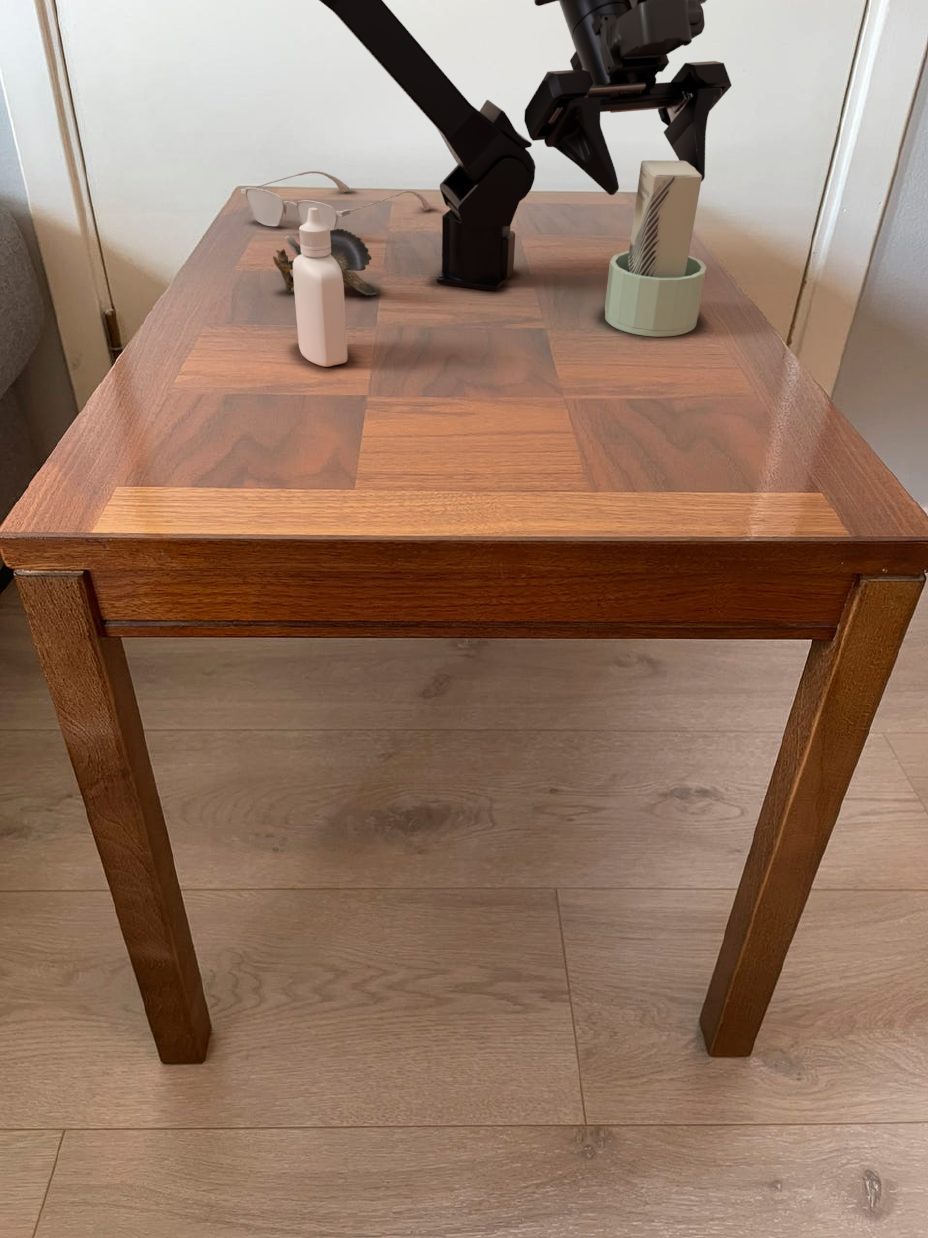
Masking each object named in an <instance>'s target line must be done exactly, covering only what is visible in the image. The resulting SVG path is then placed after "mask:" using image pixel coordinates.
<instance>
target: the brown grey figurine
mask: <svg viewBox="0 0 928 1238" xmlns="http://www.w3.org/2000/svg"><path fill="white" fill-rule="evenodd" d="M330 239H331V253H330V254H331V255H332V257H333V258H334V259H335V260H336V261H337V263H338V264H339V266H340V268H341V271H342V275H343V284H347V285H348V286H350V287H352V288H353V289H355V290H357V291H358V292H360V293H361V294H363V295H365V296H374V295H376V296H377V293H378V291H377V290H376V288H375V287H373V286H372V285H370V284H368V283H367V282H366V281H365V280H363V278H361V277H360V276H359V275H358V274H357V273H356V272H362V271H365V270H366V269H367V267H366V266H369V265H370V261H371V260H372V255H371V254H370V253H369V251H370V250H369V248H368V247H367V246H366V243H364V242H363V241H362V239H361V237H358V236H357V235H356V234H354V233H352V232H351V231H348V230H345V229H343V228H335V230H330ZM284 240H285V242H286V243H287V244H288V247H289V249H290V250H292V252H293V253H294V254H295V255H296V257H297V256H299V255H301V254H302V253H301V247H300V243H298V242H297V241H296V240H295V239H294V238H293V237H292V236H291V235H286V236H285V238H284ZM275 252H276V253H277V256H276V255H273V256H272V260H273V262H274V265H275V266H276V267H277V269H278V270H279V272H280V273H281V276H282V279H283V280H284V284H285V292H286V293H290V292H292V290H293V289H294V280H293V274H291V271H293V262H294V260H289V256H288V255H287V251H286V249H284V248H282V249H281V250H278V249H276V250H275Z"/></svg>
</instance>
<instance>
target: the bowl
mask: <svg viewBox="0 0 928 1238" xmlns="http://www.w3.org/2000/svg"><path fill="white" fill-rule="evenodd" d="M628 257H629V250H626V251H622V252H620V253H618V254H615V255H613V256H612V257H611V259H610V260H609V266H608V275H607V284H606V285H607V286H606V295H605V301H604V302H605V303H604V319H605V321H606V323H608V324H609V325H610V326H612V327H613V328H615V329H617V330H619V331H622V332H625V333H628V334H633V335H636V336H637V335H638V336H643V337H659V338H660V337H661V338H662V337H674V336H680V335H684V334H687V333H689V332H691V331H693V330H694V329H695V328H696V326H697V324H698V318H699V315H700V309H701V304H702V299H703V298H702V297H703V292H704V285H705V281H706V274H707V268H708V266H706V264H705V263H704V262H703V261H702V260H701V259H698V258H696V257H695V256H692V255H688V261H687V266H686V272H685V277H679V278H658V277H649V276H642V275H638V274H635V273H631V272H628V271H627V264H628Z"/></svg>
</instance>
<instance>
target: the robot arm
mask: <svg viewBox="0 0 928 1238" xmlns="http://www.w3.org/2000/svg"><path fill="white" fill-rule="evenodd" d="M318 1H319V2H320V3H321V4H323V5H325V6H326V7H327V8H328V9H329V10H330V11H332V13H333V14H334V15H335V16H336V17H337V18H338V19H339V20H340V21H341V23H342V24H343V25H344V26H345V27H346V28H347V29H348V30H349V31H350V32H351V33H352V35H353V36H354V37H355V38H356V39H357V40H358V42H359V43H360V44H361V45H362V46H363V47H364V48H365V49H366V51H367V52H368V53H369V54H370V55H371V56H372V57H373V58H374V60H375V61H377V63H378V64H379V65H380V67H382V68H383V70H384V71H385V72H386V73H387V74H388V76H390V77H391V79H392V80H393V81H394V82H395V83H396V84H397V86H398V87H399V88H400V89H401V90H402V91H403V92H404V93H405V94H406V96H407V97H408V98H410V100H411V102H413V103H414V104H415V105H416V107H417V108H418V109H419V110H420V111H421V112H422V113H423V114H424V116H425V117H426V118H427V119H428V120H429V121H430V122H431V123H432V124H433V126H434V127H435V128H436V129H437V131H438V133H439V135H440V136H441V138H442V140H443V142H444V143H445V146H446V147H447V150H448V151H449V152H450V154H451V156H452V158H453V159H454V161H455V162H456V164H457V165H455V167H454V168H453V169H452V170H451V171H450V172H449V173H448V174H447V176H446V177H445V178H444V179H443V180H442V181H441V182H440V184H439V190H440V193H441V196H442V199H443V202H444V204H445V206H446V207H448V208H449V210H448V211H446V212H445V213H444V214H442V216H441V219H442V220H441V225H442V226H441V227H442V228H441V272H440V273H439V274H438V275H437V276H436V277H435V282H436V283H437V284H441V285H442V284H443V285H450V286H458V287H466V288H473V289H481V290H487V291H488V290H489V291H497V290H499V289H500V287H501V286H502V285H503V284H504V283H505V282H506V281H507V280H508V279H509V277H510V276H511V275H513V273H514V270H515V269H514V268H515V248H516V232H515V231H514V230H511V225H512V222H513V219H514V217H515V214H516V212H517V210H518V208H519V205H520V202H521V201H523V200H524V199H525V198H526V197H527V196H528V194H529V193H530V192H531V190H532V188H533V184H534V182H535V176H536V169H537V167H536V162H535V160H534V158H533V156H532V155H531V153H530V152H529V151H528V150H527V149H528V148H531V147H532V146H533V143H532V142H531V141H529V140H528V139H527V138H526V137H524V136H523V135H522V134H521V133H519V132H518V131H517V130H516V129H515V127H514V125H513V123H512V121H511V120H510V118H509V116H508V115H507V113H506V112H505V111H504V110H503V109H502V108H500V107H499V106H497V105H496V104H495V103H493V102H492V101H491V100H489V99H486V100H485V102H484V103H483V104H482V106H481V108H480V110H479V109H477V108H476V107H475V106H473V105H472V104H471V102H470V101H468V99H467V98H466V97H465V96H464V95H463V93H462V92H461V91H460V90H459V89H458V87H457V86H456V85H455V84H454V83H453V82H452V81H451V80H450V78H449V77H448V76H447V74H446V73H445V72H444V71H443V70H442V69H441V68H440V67H439V65H438V64H437V63H436V62H435V60H433V58H432V57H431V56H430V55H429V54H428V53H427V51H426V50H425V49H424V48H423V46H422V45H421V44H420V43H419V42H418V41H417V39H416V38H415V37H414V36H413V35H412V33H411V32H410V31H409V30H408V28H407V27H405V25H404V24H403V23H402V22H401V21H400V20H399V18H398V17H397V16H396V15H395V13H394V12H393V11H392V10H391V8H389V7H388V6H387V4H386V3H385V2H384V0H318ZM707 1H708V0H533V2H534V5H535V6H537V7H541V6H545V5H548V4H551V3H555V2H558V3H559V5H560V8H561V11H562V15H563V17H564V20H565V23H566V25H567V28H568V32H569V34H570V37H571V40H572V43H573V47H574V49H575V51H574V53H573V55H572V56H571V58H570V60H569V62H570V65H571V69H567V70H551V71H547V72H546V74H545V75H544V76H543V79H542V80H541V82H540V84H539V85H538V86H537V89H536V90H535V92H534V93H533V95H532V97H531V98H530V100H529V102H528V104H527V106H526V107H525V109H524V116H523V117H524V120H523V122H524V124H525V127H526V130H527V133H528V136H529V138H530V139H531V140H532V141H534V142H535V141H543V142H544V144H545V146H546V147H547V148H554V149H556V150H557V151H558V152H560V153H561V154H562V155H564V156H565V158H567V159H569V161H571V162H573V163H574V164H575V165H576V166H578V167H579V168H580V169H581V170H582V171H583V172H584V173H585V174H587V176H589V177H590V178H591V180H593V181H594V182H595V183H596V184H597V185H598V186H599V187H600V188H602V189H603V191H605V192H606V193H607V194H608V195H609V196H614V195H615V194H616V193H617V192H618V191H619V189H620V185H619V180H618V177H617V172H616V168H615V165H614V162H613V159H612V157H611V153H610V151H609V147H608V144H607V142H606V138H605V135H604V133H603V129H602V126H601V113H605V112H607V113H608V112H609V113H612V114H614V113H625V112H638V111H648V110H649V111H650V110H657V112H658V115H659V119H660V121H661V122H662V123H663V124H665V125H666V126H667V127H666V128H665V130H664V131H663V135H664V136H665V138H666V140H667V141H668V143H669V145H670V147H671V148H672V151H673V152H674V154H675V156H676V157H677V159H678V161H686V162H688V163H689V164H690V165H691V166H693V167H694V168H695V169H696V170H697V171H698V172H699V173H700V174H701V175H702V179H701V183H702V182H703V181H704V180H705V178H706V135H707V134H706V133H707V125H708V118H709V115H710V112H711V110H712V109H713V108H714V107H715V106H716V105H717V104H718V103H719V101H720V100H721V99H722V97H724V96H725V94H726V93H727V92H728V91H729V89H731V87H732V82H731V78H730V76H729V74H728V71H727V68H726V65H725V63H724V62H721V61H717V60H711V61H710V60H709V61H693V62H685V63H683V65H682V66H681V68H679V70H678V71H677V73H676V74H675V75H674V77H673V78H672V79H671V81H668V82H657V77H656V75H658V73H663V72H664V70H665V69H666V68H667V67H668V66H669V64H670V60H669V58H668V55H669V54H670V53H671V52H673V51H674V52H675V50H677V49H679V48H680V47H682V46H683V47H687V46H689V45H691V43H692V41H693V39H694V38H697V37H698V36H700V35H701V34H702V33H703V31H704V29H705V26H706V22H705V14H704V13H705V11H704V9H703V6H702V4H706V2H707Z"/></svg>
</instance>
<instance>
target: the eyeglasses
mask: <svg viewBox="0 0 928 1238" xmlns="http://www.w3.org/2000/svg"><path fill="white" fill-rule="evenodd" d="M308 174H318V175H323V176H325V177H327V178H328V179H330V181H331V180H332V181H333V182H334V184H335V186H336V187H337V188H338V191H340V192H341V193H346V192H348V191H350V187H349V186H348V185H347V184H346V183H345V182H343V181H342V180H341V179H339V178H338V177H336V176H333V175H332V174H329V173H326V172H324V171H318V170H310V171H304V172H299V173H298V174H294V175H290V176H286V177H283V178H280V179H277V180H273V181H270V182H266V183H263V184H259V185H257V186H253V187H252V186H248V187H244V188H241V189H240V193H241V194H242V195H245V199H246V202H247V205H248V207H249V209H250V212H251V214H252V216H253V218H254V219H255V221H257V222H258V223H259V224H261V225H263V226H267V227H278V226H280V224H281V222H282V220H283V218H284V215H286V216H287V212H288V209H287V208H288V207H287V204H290V205H293V206H295V207H296V213H297V216H298V218H299V222H300V225H303V224H305V223H306V222H307V219H308V210H309V208H317V209H318V212H319V216H320V220H321V222H322V223H324V224H326V225H328V226H329V227H330V230H336V227H337V224H338V219H339V218H338V217H341V218H343V217H346V216H349V215H351V212H354V211H357V210H360V209H363V208H366V207H370V206H373V205H375V204H378V203H381V202H384V201H387V200H389V199H392V198H395V197H399V196H400V195H403V194H413V196H414V195H415V196H416V197H417V198H418V199H419V200H420V202H421V205H422V208H423V209H424V211H428V210H430V209H431V208H432V205H431V204H430V202H429V201H428V200H427V198H426V197H424V196H423V195H421V194H420V193H418V192H416V191H415V190H411V189H409V190H402V191H400V192H397V193H396V194H394V195H391V196H389V197H386V198H383V199H381V200H378V201H374V202H372V203H369V204H365V205H363V206H360V207H356V208H353V209H348V208H347V209H344V210H336V209H335V208H334V207H333V206H332V205H330V204H327V203H324V202H320V201H316V200H308V199H302V200H299V201H297V203H296V202H295V201H291V200H285V201H284V200H283V198H282V197H281V196H280V195H278V194H277V193H275V192H272V191H269V190H266V189H262V188H261V187H264V186H266V185H270V184H273V183H276V182H280V181H284V180H286V179H290V178H293V177H299V176H303V175H308Z"/></svg>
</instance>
